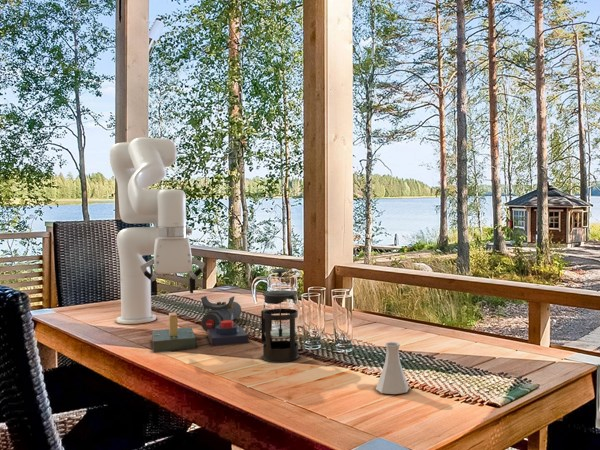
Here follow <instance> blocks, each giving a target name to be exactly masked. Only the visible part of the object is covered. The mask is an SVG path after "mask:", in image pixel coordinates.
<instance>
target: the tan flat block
mask: <svg viewBox="0 0 600 450" xmlns="http://www.w3.org/2000/svg"><path fill="white" fill-rule="evenodd" d="M178 328H179V326H178V314H177V312H176V311H175V312H168V329H169V333H170V336H178Z"/></svg>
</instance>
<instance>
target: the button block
mask: <svg viewBox="0 0 600 450" xmlns="http://www.w3.org/2000/svg"><path fill="white" fill-rule="evenodd" d="M206 332H207V333H206V334H207V339H208V340H209V342H210V345H211V346H212V347H215V346H216V347H217V346H227V345H238V344H247V343H249V335H248V333H247V332H246V331H245V330H244V328H243V327H242V326H239V324H237V323H233V327H229V328H222V327H221V325H217V326H216V327H215V329H207V331H206Z"/></svg>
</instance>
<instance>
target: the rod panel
mask: <svg viewBox="0 0 600 450" xmlns="http://www.w3.org/2000/svg"><path fill="white" fill-rule="evenodd" d="M151 335H152V336H151V337H152V340H151V341H152V351H153V353H159V352H170V351H171V352H173V351H181V350H182V351H183V350H193V349H196V348H197V338H196V335H195V333H194V330H193V328H192V326H190V327H178V336H170V333H169V328H165V329H153V330H151Z"/></svg>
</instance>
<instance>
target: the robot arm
mask: <svg viewBox="0 0 600 450" xmlns="http://www.w3.org/2000/svg"><path fill="white" fill-rule="evenodd" d="M177 157H178V150H177V146H176V145H175V143H174V141H172V140H170V139H169V138H161V137H145V136H144V137H135V138H134V139H132V140H131V141H130V142H129V141H127V142H126V141H125V142H124V141H123V142H118V143H115V144H112V146H111V147H110V150H109V163H110V167H111V170H112V173H113V175H114V178H115V180H116V184H117V196H118V211H119V217H120V219H121V221H122V222H123V223H125V224H134V225H135V224H137V225H138V224H153V225H154V226H140V227H139V226H138V227H137V226H135V227H134V226H133V227H126V228H123V229H121V230H119V232H118V233H117V235H116V246H117V252H118V258H119V277H120V278H119V280H120V316H118V317H116V318H115V321H116V323H118V324H122V325H136V324H147V323H150V322H153V321H155V320H157V315H156V314H155V313H152V293H153V296H154V297H155V296H157V295H158V282H157V281H158V280H157V278H158V277H159V276H160V275H171V274H173V275H177V274H188V275H189V281H188V282H189V283H188V284H189V293H190V294H194V291H195V290H196V279H197V277H199V276H200V274H202V272H203V270H204V267H205V266H206V263H205V262H204V261H201V260H199V259H197V258H195V257H192V256H193V255H192V247H191V240H190V237H188V235H189V234H192V233H193V229H192V228H188V227H187V198H186V197H187V196H186V192H185V191H184V190H182V189H176V188H175V189H174V188H173V189H171V188H167V189H163V188H162V189H161V188H148V187H151V186H153V185H156V184H158V183H159V182H161V181H162V180H163V179H164V178H165V176H166V173H167V170H166V168H167V167H170V166H172V165H174V164H175V163H176V161H177ZM143 256H144V257H145V256H153V258H152V259H150V260H148V261H146V260H145V259H144V257H143ZM193 264H195V265H197V266H198V267H197V269H196V270H195V271H192V270H193ZM152 265H153V270H154V272H153V273H152V272H151V271H152V270H151V266H152Z"/></svg>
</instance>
